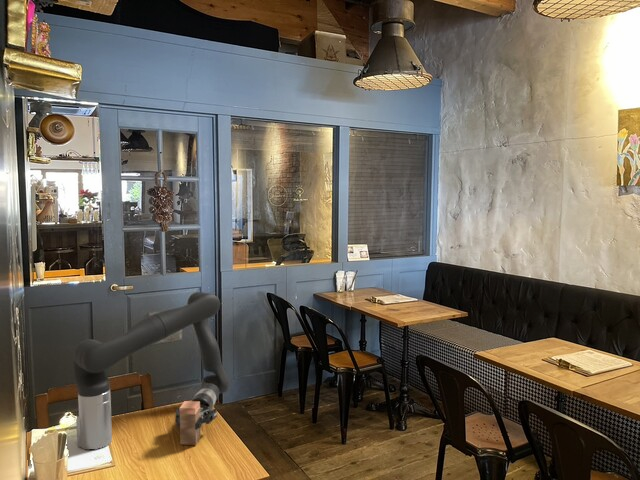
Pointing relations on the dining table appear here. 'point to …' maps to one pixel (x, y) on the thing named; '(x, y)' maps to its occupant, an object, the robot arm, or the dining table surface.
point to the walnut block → (189, 422)
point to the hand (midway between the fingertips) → (187, 426)
